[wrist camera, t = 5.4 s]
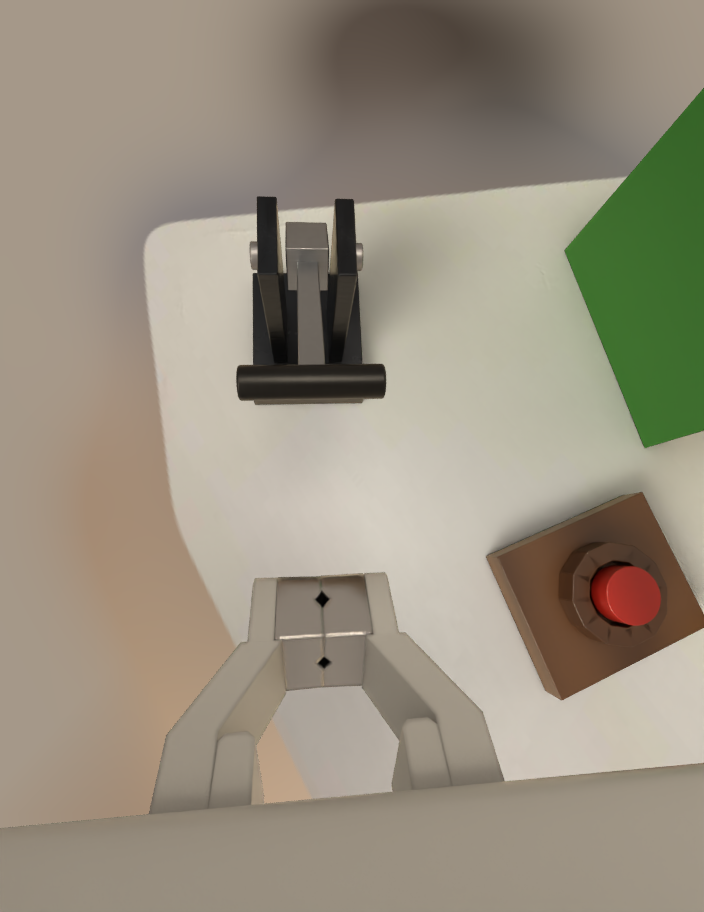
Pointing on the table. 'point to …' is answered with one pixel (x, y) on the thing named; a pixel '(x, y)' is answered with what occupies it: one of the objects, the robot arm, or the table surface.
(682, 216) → the hardback book
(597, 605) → the button
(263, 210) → the bracket
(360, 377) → the lever
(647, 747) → the table surface
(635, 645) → the button block
